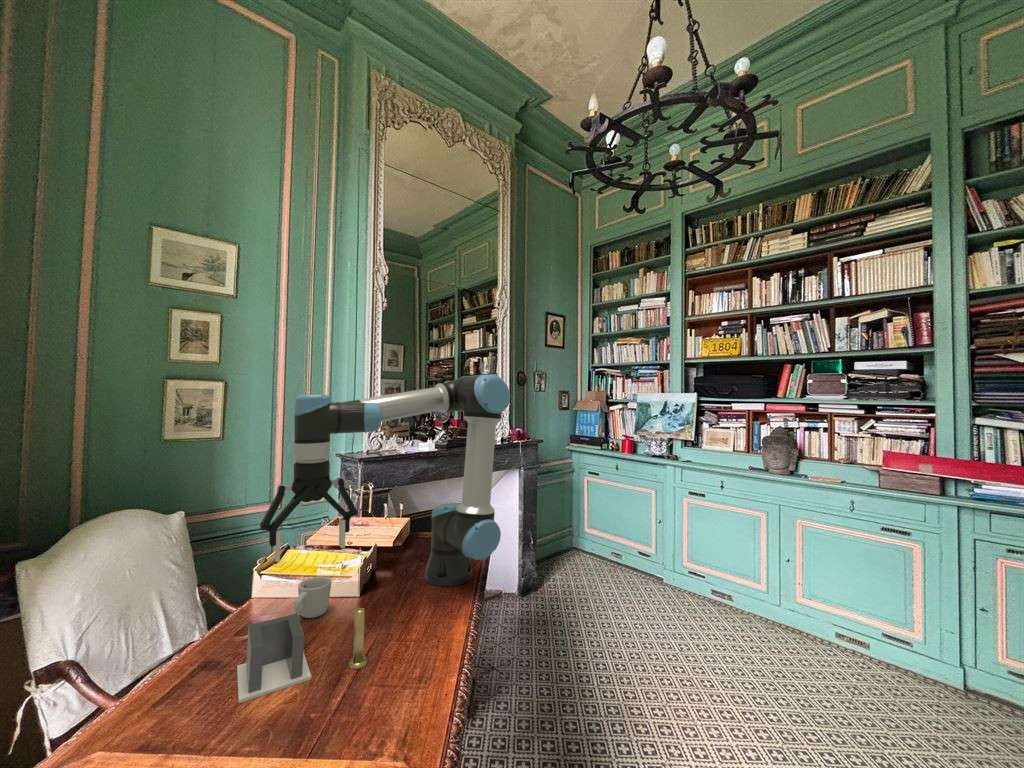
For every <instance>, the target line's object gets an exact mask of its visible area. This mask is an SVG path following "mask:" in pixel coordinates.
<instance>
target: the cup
mask: <svg viewBox="0 0 1024 768" xmlns="http://www.w3.org/2000/svg"><path fill="white" fill-rule="evenodd" d="M332 583H333V582H332V579H331V578H330V577H329V576H322V575H321V576H320V575H319V576H313V577H308V578H305V579H303V580H302V581H300V582H299V584H298V585H297V592H298V593H297V594H298V596H297V597H296V599H295V602H294V606H293V607H294V609H293V610H294V614H297V615H298V616H301V617H303V618H305V619H314V618H318V617H320V616H322V615H324V614H325V613H326V612H327V611H328V608H329V603H330V602H329V601H330V595H331V590H332V589H331V588H332Z"/></svg>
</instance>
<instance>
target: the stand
mask: <svg viewBox="0 0 1024 768" xmlns="http://www.w3.org/2000/svg"><path fill="white" fill-rule="evenodd" d="M365 614H366V608H364V607H358V608H356V609H355V610H354V625H353V626H354V629H353V649H352V651H353V652H352V654H353V655H352V658H351V659H349V660H348V667H349V669H352V670H359V669H363V667H365V666H366V665H367V664H368V657H366V656H365V655H364V645H365V643H364V641H365V619H366V618H365Z"/></svg>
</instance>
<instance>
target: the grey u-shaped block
mask: <svg viewBox="0 0 1024 768" xmlns="http://www.w3.org/2000/svg"><path fill="white" fill-rule="evenodd" d="M303 630H304V629H303V627H302V624H301V622H300V619H299V615H297V614H296V613H292V614H289V615H286V616H281V617H277V618H273V619H269V620H265V621H261V622H260V621H259V622H256V623H252V624H249V625H248V628H247V643H246V647H247V648H246V649H247V650H246V661H245V663H246V667H247V680H248V693H251V692H254V691H257V690H261V681H262V666H264V665H267V664H270V663H274V662H277V661H280V660H284V659H286V661H287V665H288V669H289V674H290V678H291V679H294V678H297V677H301V676H302V670H303V652H304V647H305V646H304V645H305V644H304V643H305V632H304V631H303Z"/></svg>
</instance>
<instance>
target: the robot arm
mask: <svg viewBox="0 0 1024 768" xmlns="http://www.w3.org/2000/svg"><path fill="white" fill-rule="evenodd" d="M510 402H511V393H510V389H509V385H508V384H507V383H506V382H505V380H504V379H503V378H502V377H500V376H498V375H495V374H479V375H472V376H471V375H470V376H464V377H463V376H462V377H459V378H456V379H453V380H449V381H446V382H439V383H436V384H435V385H434V387H428V388H422V389H416V390H410V391H404V392H396V393H391V394H390V393H389V394H385V395H379V396H371V397H366V398H361V399H356V400H353V399H352V400H348V401H347V400H346V401H342V402H341V401H337V402H332V400H331V396H330V395H329V394H299V395H298V396H296V399H295V405H294V413H293V417H294V446H293V447H294V448H293V451H294V453H293V459H294V460H295V461H296V462H295V463H294V464H293V482H292V484H283V483H279V484H278V485H277V489H276V494H275V497H274V498H273V500H272V502H271V503H270V505H269V508H268V509H267V511H266V513H265V515H264V516H263V518H262V521H260V524H259V528H260V530H261V531H267V532H268V533H269V534H268V535H269V536H268V538H269V541H268V543H269V545H270V547H274V561H275V562H276V563H279V562H281V530H280V527H281V525H282V524H283V523H284V522H285V520H286V519H287V518H288V517H289V515H291V514H292V512H293V511H294V510H295V509H296V507H297V506H299V505H300V504H301V503H302V502H303V503H309V502H319V501H320V500H322V499H323V498H324V499H325V501H326V502H327V503H328V504H330V505H331V507H333V508H334V509H335V510H336V511H337V512H338V513H339V514H340V515H341V516H342V517H340V518H338V519H339V520H338V546H339V548H341V549H345V548H346V533H349V532H350V529H351V528H350V525H351V524H350V521H351V519H352V517H354V516H357V515H358V514H359V511H358V509H357V508H356V506H355V503H354V502H353V500H352V499H351V497H350V494H349V493H348V491H347V489H346V486H345V480H344V479H343V478H341V477H337V478H336V479H331V478H330V473H331V471H330V469H331V466H330V465H331V463H330V460H328V459H330V457H331V454H330V453H331V442H330V441H331V435H332V434H334V435H337V434H352V433H353V434H355V433H357V434H359V433H365V434H367V433H370V432H376V431H378V430H380V428H381V425H382V423H383V422H388V421H394V420H397V419H405V418H408V417H413V416H419V415H423V414H429V413H434V412H439V413H442V414H444V413H450V412H452V413H453V412H460V413H461V412H462V413H463V419H464V420H465V421H466V423H467V432H466V443H465V444H466V445H465V455H464V456H465V457H464V469H463V482H462V495H461V502H447V503H441V504H437V505H435V506H434V507H433V508H432V512H431V538H430V539H431V541H430V543H431V545H430V549H431V550H430V555H429V558H428V560H427V563H426V567H425V571H424V580H425V581H426V582H427V583H428V584H430V585H433V586H437V587H454V586H459V585H463V584H465V582H466V583H467V581H468V580H469V581H471V579H472V578H473V566H472V563H471V559H472V560H476V561H481V560H482V561H483V560H485V559H487V558H488V557H489V556H491V555H493V552H494V551H496V550H497V548H498V546H499V544H500V542H501V537H502V536H501V533H502V531H501V528H500V526H499V524H498V523H497V522H496V521H495V514H496V512H495V509H494V507H493V506H492V505H491V498H492V496H491V495H492V485H493V484H492V483H493V472H494V471H493V469H494V459H495V457H494V455H495V442H496V441H495V439H496V430H497V429H496V426H497V424H498V423H500V422H501V421H502V413H503V412H505V411H506V410H507V409H506V408H508V406H509V404H510ZM332 486H333V487H334V488H335V489H337V490H338V491H337V492H338V493H339V494H340V496H341V498H342V500H343V502H344V503H345V505H346V507H347V509H348V511H346V510H345V509H344V508H343V507H342V506H341V505H340V504H339V503H338V501H336V500H335V499H334V498H333V497H332V496H331V495H330V494H329V493H328V492H329V490H330V489H331V488H332ZM289 491H292V492H293V494H294V496H293V497H291V499H290V501H289V502H288V503H287V505H286V506H285V507H284V508H283V509H282V510H281V512H280V513H279V514H278V515H277V516H276V518H274V516H275V515H276V512H277V511H278V509H279V507H280V505H281V503H282V502H283V500H284V497H285V496H286V495H288V494H289ZM273 518H274V520H273ZM272 520H273V521H272ZM271 521H272V522H271ZM471 577H472V578H471ZM469 581H468V582H469Z"/></svg>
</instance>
